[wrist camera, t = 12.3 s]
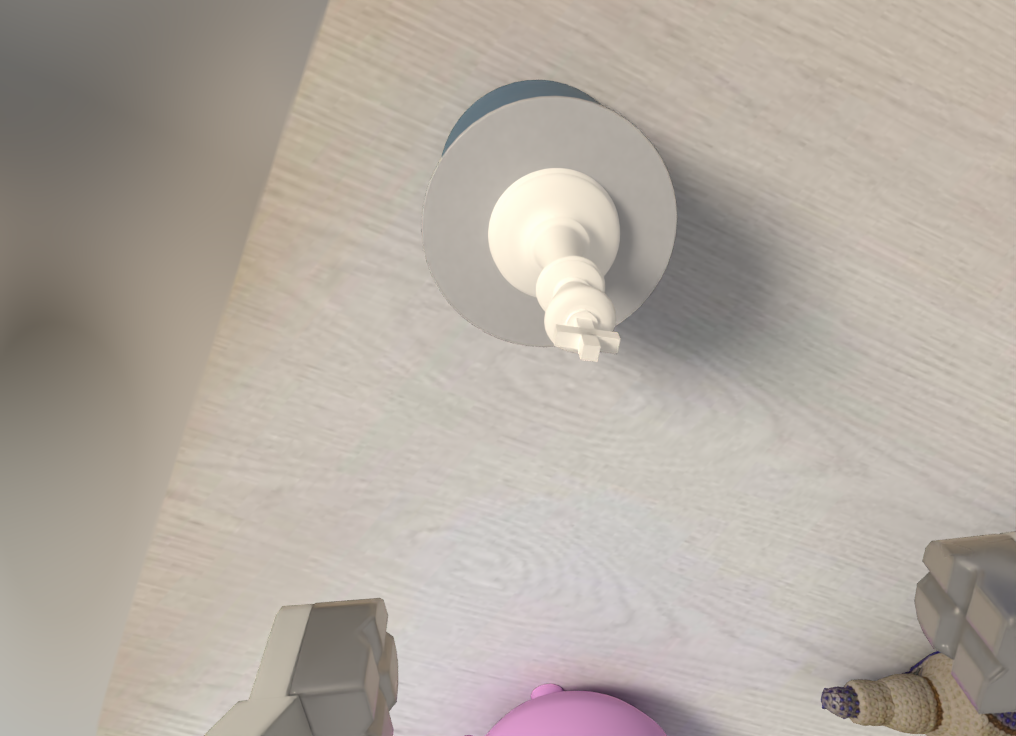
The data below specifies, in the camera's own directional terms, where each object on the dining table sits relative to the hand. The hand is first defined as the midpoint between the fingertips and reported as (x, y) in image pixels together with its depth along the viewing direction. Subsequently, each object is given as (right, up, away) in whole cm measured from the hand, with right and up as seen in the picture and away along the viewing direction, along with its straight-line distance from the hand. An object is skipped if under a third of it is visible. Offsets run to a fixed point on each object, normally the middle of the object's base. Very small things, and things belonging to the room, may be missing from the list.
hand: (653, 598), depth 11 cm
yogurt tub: (-1, +12, +23) cm, 26 cm away
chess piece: (0, +9, +17) cm, 19 cm away
